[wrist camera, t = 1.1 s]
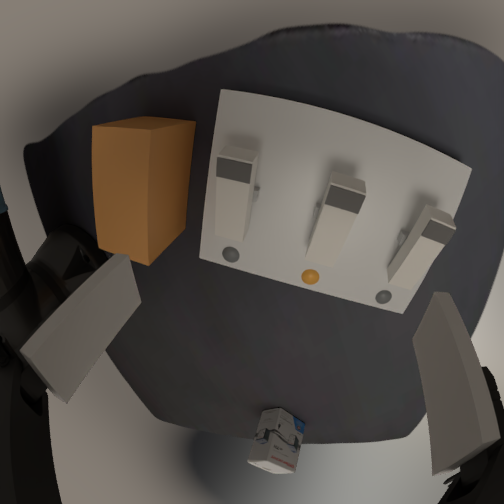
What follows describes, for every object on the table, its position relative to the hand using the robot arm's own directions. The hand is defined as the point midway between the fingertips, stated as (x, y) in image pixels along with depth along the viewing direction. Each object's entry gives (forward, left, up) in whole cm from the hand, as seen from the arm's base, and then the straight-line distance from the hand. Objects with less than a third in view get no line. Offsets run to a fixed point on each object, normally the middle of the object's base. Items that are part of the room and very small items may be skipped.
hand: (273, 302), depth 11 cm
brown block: (-14, -2, -17) cm, 22 cm away
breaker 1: (-5, -1, -12) cm, 13 cm away
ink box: (+10, -44, -17) cm, 48 cm away
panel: (+3, -1, -17) cm, 17 cm away
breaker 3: (+11, -1, -12) cm, 17 cm away
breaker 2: (+3, -1, -12) cm, 13 cm away
